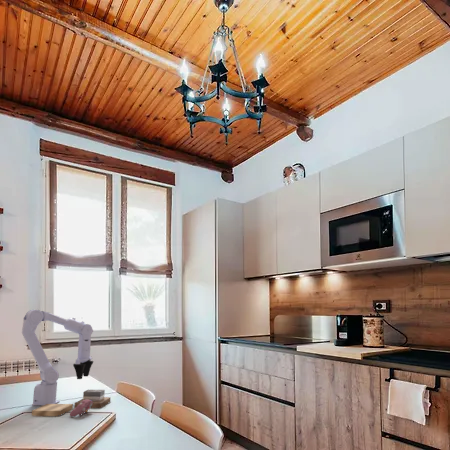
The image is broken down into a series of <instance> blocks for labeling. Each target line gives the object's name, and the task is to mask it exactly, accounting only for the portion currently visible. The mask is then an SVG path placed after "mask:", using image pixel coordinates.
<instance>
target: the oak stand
mask: <svg viewBox="0 0 450 450" xmlns="http://www.w3.org/2000/svg"><path fill="white" fill-rule="evenodd" d="M73 405H74V404H73V403H56V404H45V405H40V406H39V407H37V408H35V409H32V410H31V416H32V417H59V416H58V415H61V414H63V413H64V414H66V413H68V412H71V411H72V410H74V408H73V407H74V406H73ZM65 412H66V413H65ZM64 414H63V415H64ZM61 416H62V415H61Z"/></svg>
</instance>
